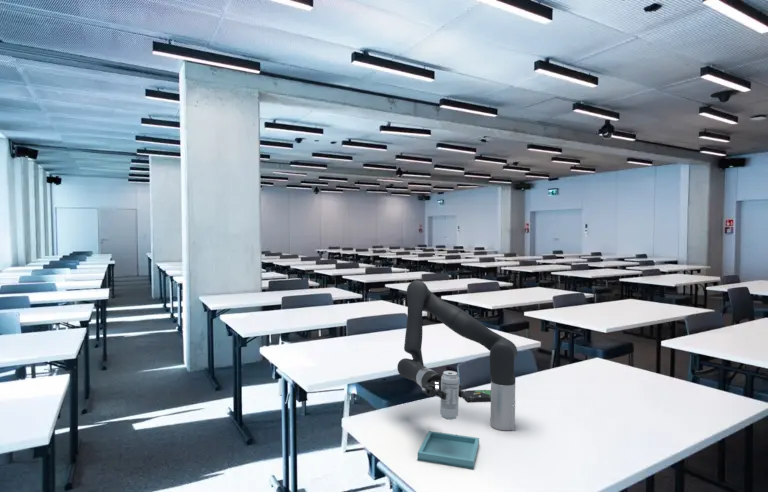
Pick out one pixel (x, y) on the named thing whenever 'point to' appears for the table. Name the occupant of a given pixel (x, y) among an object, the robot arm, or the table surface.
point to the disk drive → (477, 396)
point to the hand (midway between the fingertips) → (453, 395)
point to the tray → (449, 449)
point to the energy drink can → (450, 395)
